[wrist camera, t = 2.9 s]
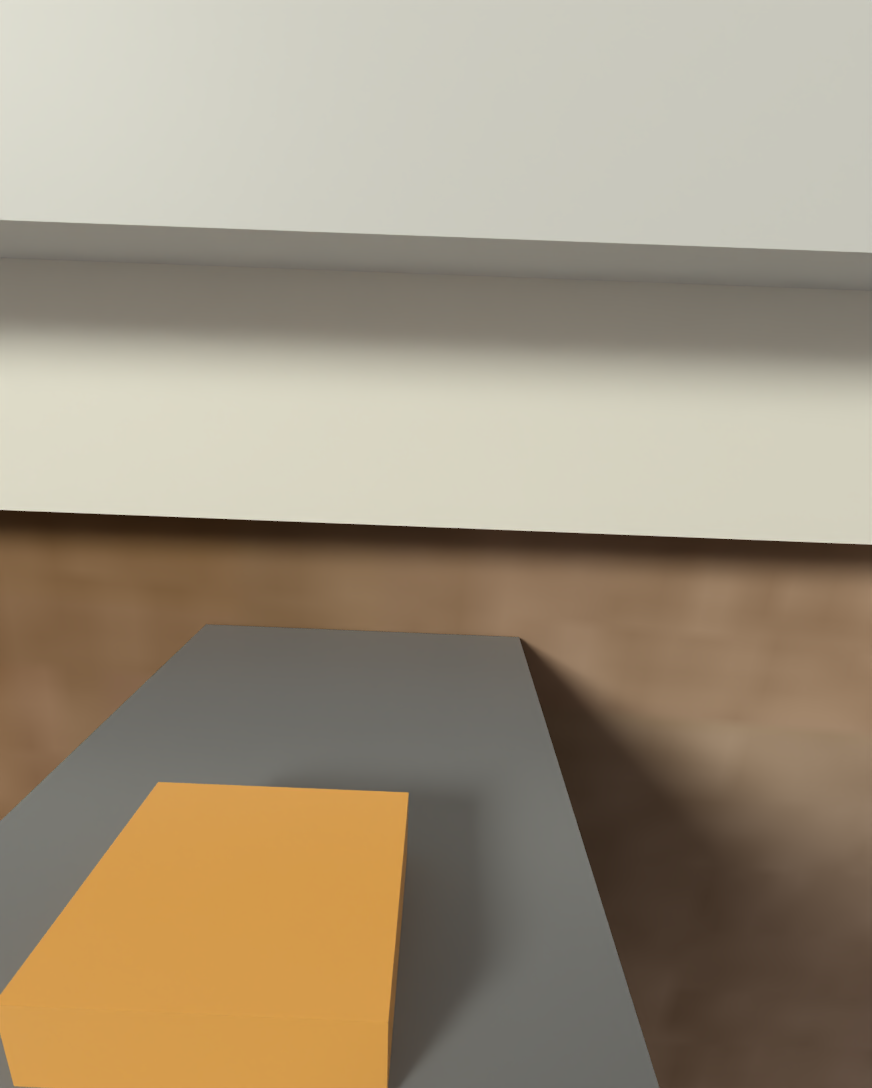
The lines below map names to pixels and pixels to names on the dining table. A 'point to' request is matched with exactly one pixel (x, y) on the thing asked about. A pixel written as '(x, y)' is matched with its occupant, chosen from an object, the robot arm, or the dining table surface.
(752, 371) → the rail plate
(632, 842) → the dining table surface
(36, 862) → the din module
